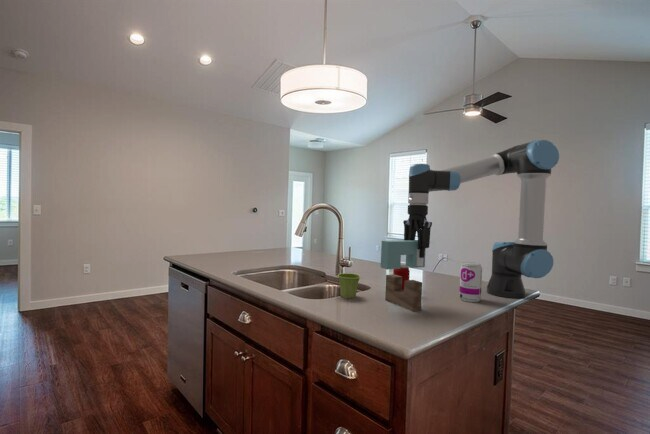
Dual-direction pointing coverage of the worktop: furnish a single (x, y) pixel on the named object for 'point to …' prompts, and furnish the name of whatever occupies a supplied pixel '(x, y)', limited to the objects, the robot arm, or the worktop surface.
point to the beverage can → (402, 273)
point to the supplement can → (470, 281)
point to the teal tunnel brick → (399, 253)
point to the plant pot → (348, 284)
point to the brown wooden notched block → (404, 292)
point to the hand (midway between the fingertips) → (415, 264)
